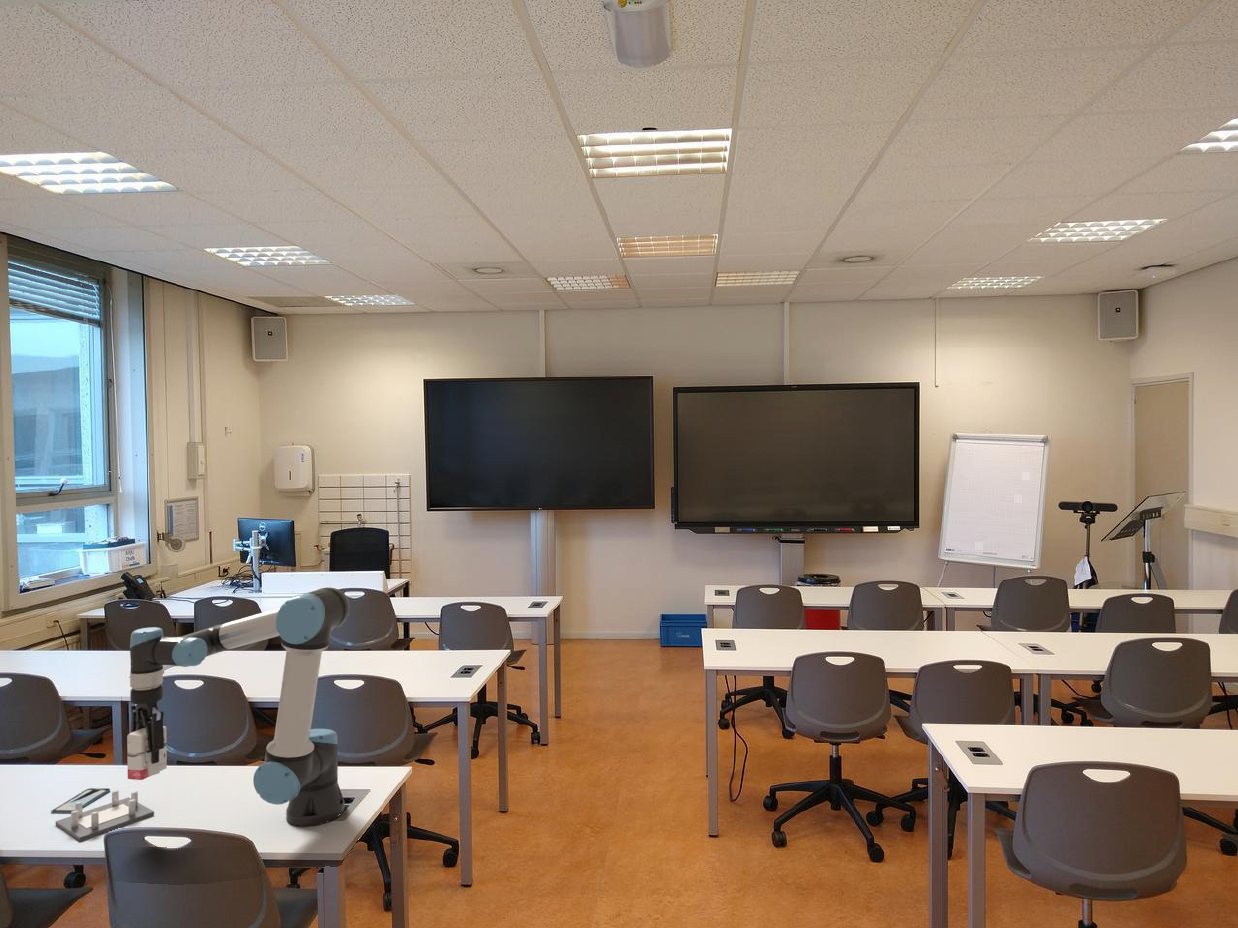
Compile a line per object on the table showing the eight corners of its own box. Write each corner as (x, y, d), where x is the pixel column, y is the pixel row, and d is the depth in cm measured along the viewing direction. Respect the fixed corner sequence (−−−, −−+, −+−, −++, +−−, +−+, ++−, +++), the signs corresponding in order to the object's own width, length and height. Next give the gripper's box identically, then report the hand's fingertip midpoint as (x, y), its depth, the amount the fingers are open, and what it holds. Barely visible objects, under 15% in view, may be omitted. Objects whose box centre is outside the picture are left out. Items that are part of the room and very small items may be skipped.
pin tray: (154, 814, 212) (153, 796, 212) (79, 841, 198) (79, 822, 198) (128, 800, 222) (128, 783, 222) (55, 824, 207) (55, 806, 207)
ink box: (141, 780, 200) (141, 736, 200) (126, 779, 201) (125, 734, 201) (167, 768, 209) (167, 725, 209) (152, 766, 210) (152, 723, 210)
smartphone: (48, 811, 214) (87, 787, 229) (48, 815, 214) (88, 791, 229) (74, 812, 214) (111, 788, 229) (74, 815, 214) (111, 791, 229)
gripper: (178, 688, 203) (179, 774, 203) (145, 677, 214) (145, 759, 214) (148, 695, 197) (148, 784, 197) (115, 683, 208) (116, 767, 208)
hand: (147, 771), depth 205 cm, fingers closed on ink box, 6 cm apart
